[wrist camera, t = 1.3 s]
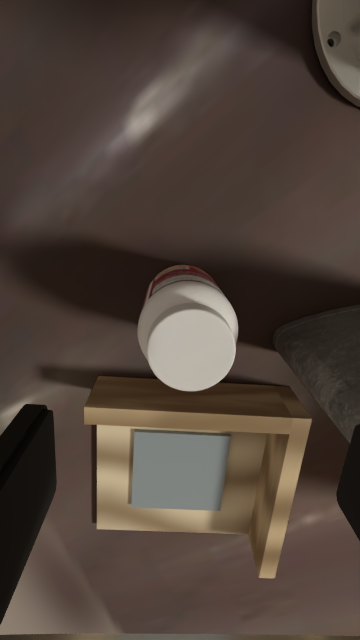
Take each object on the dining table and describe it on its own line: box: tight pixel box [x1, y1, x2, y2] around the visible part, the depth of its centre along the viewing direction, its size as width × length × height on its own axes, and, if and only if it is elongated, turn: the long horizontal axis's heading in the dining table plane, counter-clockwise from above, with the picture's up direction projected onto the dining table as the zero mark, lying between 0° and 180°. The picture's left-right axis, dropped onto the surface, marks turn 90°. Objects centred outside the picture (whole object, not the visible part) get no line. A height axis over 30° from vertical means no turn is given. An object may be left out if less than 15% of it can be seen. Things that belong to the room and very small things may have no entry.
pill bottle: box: [138, 265, 238, 391], centre depth 22 cm, size 6×6×11 cm
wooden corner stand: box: [84, 376, 312, 578], centre depth 30 cm, size 18×18×5 cm
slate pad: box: [131, 429, 231, 511], centre depth 32 cm, size 9×9×1 cm
